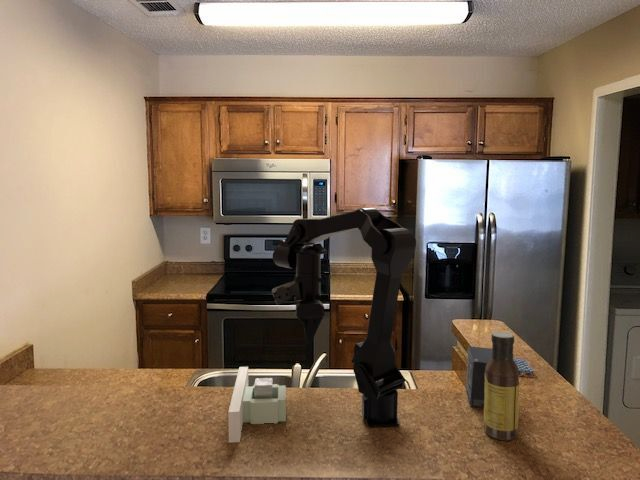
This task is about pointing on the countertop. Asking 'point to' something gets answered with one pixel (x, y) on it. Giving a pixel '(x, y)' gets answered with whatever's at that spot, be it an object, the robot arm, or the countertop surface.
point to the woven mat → (524, 368)
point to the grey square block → (263, 388)
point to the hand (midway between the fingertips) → (308, 336)
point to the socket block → (264, 406)
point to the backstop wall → (237, 406)
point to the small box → (477, 374)
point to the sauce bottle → (501, 389)
